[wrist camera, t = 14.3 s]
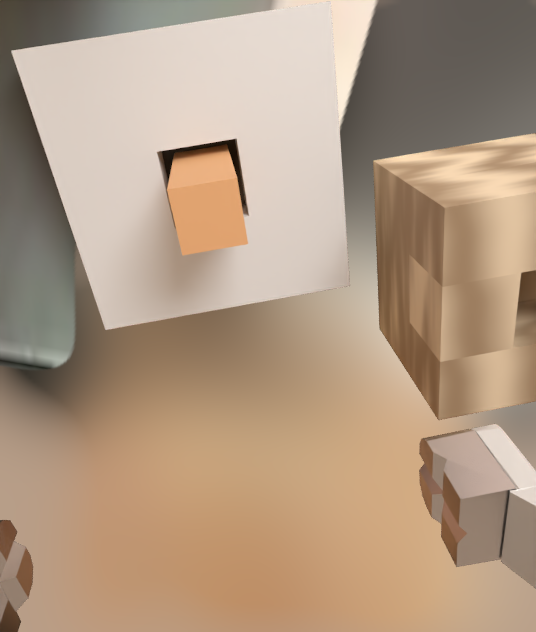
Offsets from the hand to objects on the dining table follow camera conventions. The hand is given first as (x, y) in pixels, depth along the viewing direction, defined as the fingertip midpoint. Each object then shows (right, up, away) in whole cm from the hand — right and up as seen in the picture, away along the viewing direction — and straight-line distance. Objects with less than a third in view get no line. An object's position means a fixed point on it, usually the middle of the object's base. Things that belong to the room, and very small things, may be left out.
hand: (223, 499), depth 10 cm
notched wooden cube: (+16, +10, +30) cm, 35 cm away
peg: (-3, +13, +25) cm, 29 cm away
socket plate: (-4, +13, +25) cm, 29 cm away
